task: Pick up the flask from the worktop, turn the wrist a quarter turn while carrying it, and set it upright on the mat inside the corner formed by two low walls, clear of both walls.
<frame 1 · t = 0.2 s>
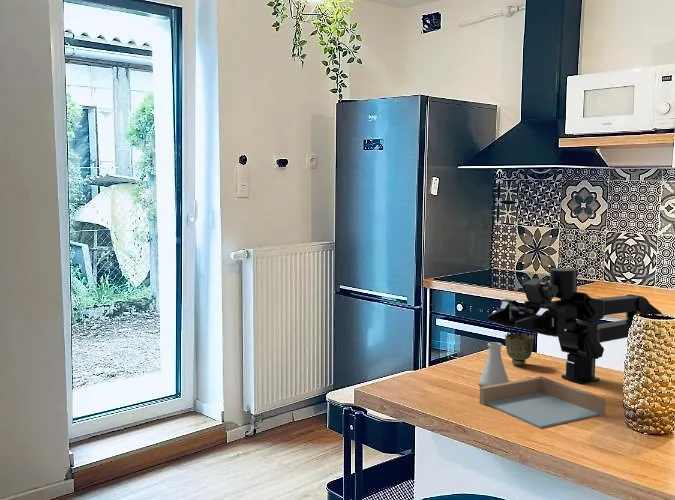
hand: (501, 321, 144), 17 cm above the countertop, tool horizontal, fingers open, 9 cm apart
flask: (493, 385, 152), on the countertop
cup: (518, 365, 170), on the countertop
corner arena: (540, 409, 135), on the countertop
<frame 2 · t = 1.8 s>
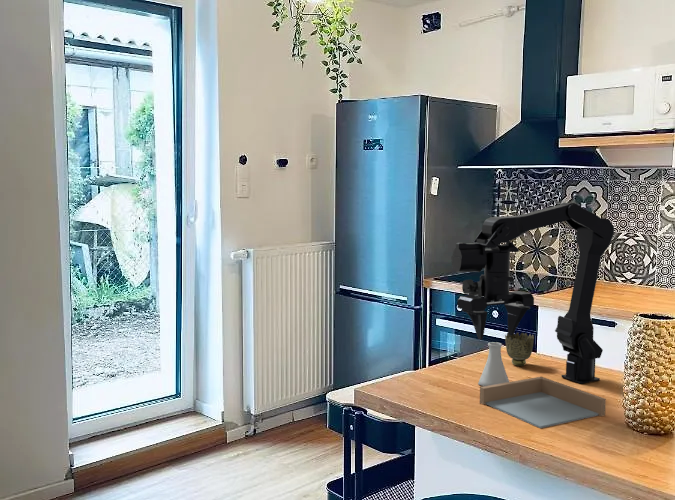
hand: (495, 337, 151), 11 cm above the countertop, tool pointing down, fingers open, 9 cm apart
nothing on the countertop moved.
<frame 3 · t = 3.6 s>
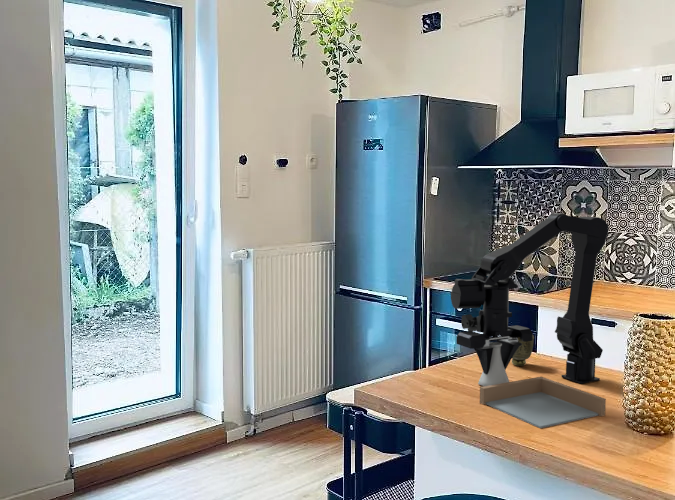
hand: (494, 372, 152), 3 cm above the countertop, tool pointing down, fingers closed on flask, 5 cm apart
flask: (493, 385, 152), on the countertop, touching gripper
everything else where it was.
when the fingers open (4 cm above the countertop, at t = 8.9 s): flask stays where it is, resting on corner arena.
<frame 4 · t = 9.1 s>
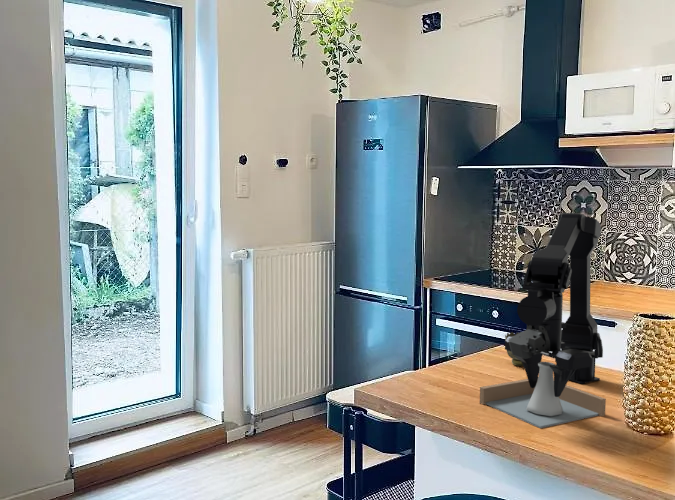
hand: (544, 392, 132), 4 cm above the countertop, tool pointing down, fingers open, 6 cm apart
flask: (544, 412, 133), resting on corner arena
everything else where it was.
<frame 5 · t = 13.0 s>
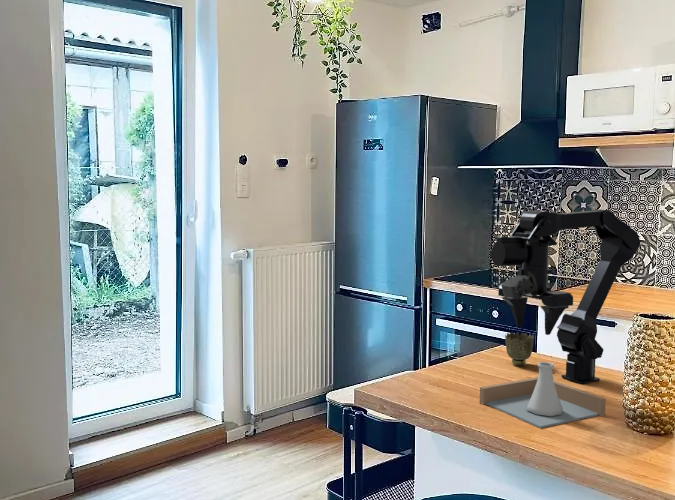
hand: (533, 330, 151), 13 cm above the countertop, tool pointing down, fingers open, 9 cm apart
nothing on the countertop moved.
at the end: flask inside the target area on the corner arena (0.9 cm from its centre), point 0.2 cm above the corner arena's base; flask tilted 0°; the gripper is holding nothing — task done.
